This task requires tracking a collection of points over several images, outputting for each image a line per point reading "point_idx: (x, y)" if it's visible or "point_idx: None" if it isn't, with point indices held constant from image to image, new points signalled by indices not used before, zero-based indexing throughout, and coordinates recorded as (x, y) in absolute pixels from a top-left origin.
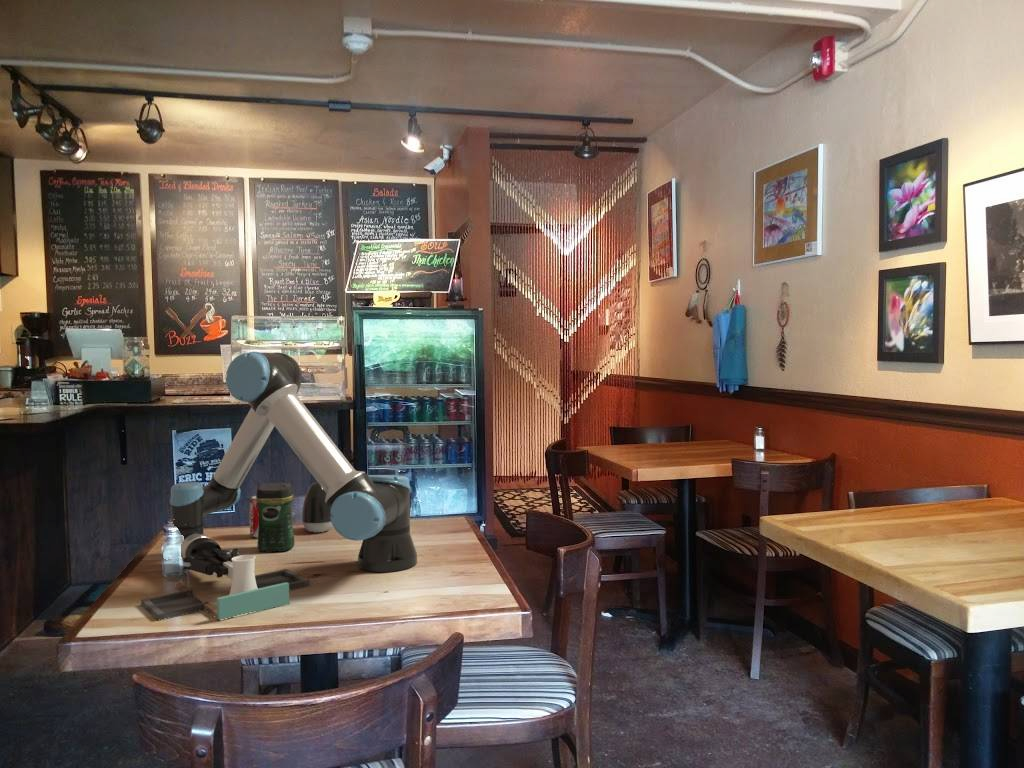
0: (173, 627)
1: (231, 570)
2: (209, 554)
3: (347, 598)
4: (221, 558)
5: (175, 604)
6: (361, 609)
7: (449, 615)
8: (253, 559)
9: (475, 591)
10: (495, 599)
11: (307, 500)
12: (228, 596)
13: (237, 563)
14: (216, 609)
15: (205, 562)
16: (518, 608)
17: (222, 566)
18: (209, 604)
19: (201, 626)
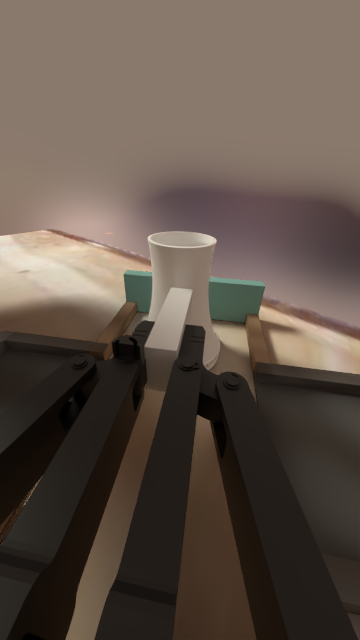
0: (338, 342)
1: (189, 308)
2: (129, 625)
3: (69, 281)
4: (97, 467)
5: (356, 473)
6: (101, 263)
7: (83, 238)
8: (167, 234)
9: (6, 243)
10: (30, 235)
11: None
12: (243, 281)
13: (208, 243)
14: (253, 328)
15: (248, 425)
16: (49, 229)
17: (190, 347)
18: (259, 354)
19: (286, 320)
